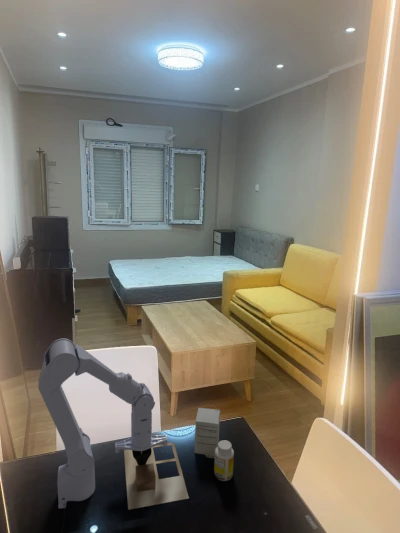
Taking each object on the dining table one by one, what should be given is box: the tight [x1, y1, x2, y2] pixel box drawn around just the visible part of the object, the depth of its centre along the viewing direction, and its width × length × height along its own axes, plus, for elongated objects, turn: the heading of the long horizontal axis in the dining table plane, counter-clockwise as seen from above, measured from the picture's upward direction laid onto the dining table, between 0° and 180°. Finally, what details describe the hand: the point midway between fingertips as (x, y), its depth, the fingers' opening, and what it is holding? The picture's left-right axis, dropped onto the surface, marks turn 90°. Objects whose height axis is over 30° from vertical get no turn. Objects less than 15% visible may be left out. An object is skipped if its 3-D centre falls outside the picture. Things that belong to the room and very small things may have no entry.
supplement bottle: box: [213, 439, 235, 482], centre depth 105 cm, size 6×6×10 cm
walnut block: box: [136, 463, 156, 492], centre depth 101 cm, size 5×5×4 cm
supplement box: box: [194, 407, 221, 459], centre depth 115 cm, size 7×7×13 cm
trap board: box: [123, 441, 190, 511], centre depth 105 cm, size 16×22×1 cm
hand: (141, 468), depth 105 cm, fingers closed
